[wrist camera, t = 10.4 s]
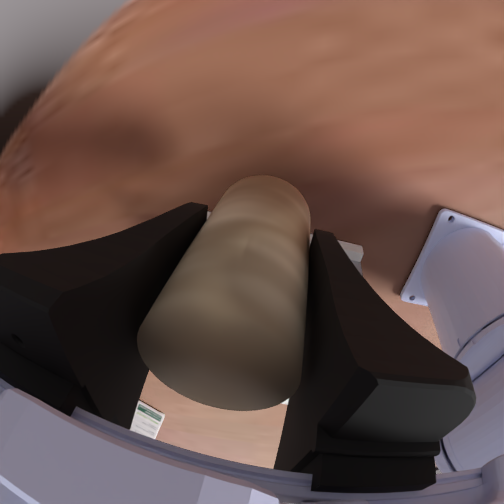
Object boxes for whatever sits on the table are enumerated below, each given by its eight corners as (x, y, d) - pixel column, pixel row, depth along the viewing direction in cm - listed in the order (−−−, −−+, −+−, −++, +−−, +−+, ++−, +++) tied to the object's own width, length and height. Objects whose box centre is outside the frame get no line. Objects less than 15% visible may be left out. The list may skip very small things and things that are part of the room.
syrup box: (166, 414, 41) (135, 496, 29) (152, 421, 44) (123, 494, 32) (133, 395, 40) (96, 477, 28) (122, 404, 43) (89, 477, 31)
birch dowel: (320, 186, 11) (324, 333, 5) (298, 266, 13) (279, 421, 7) (223, 166, 11) (127, 285, 5) (214, 247, 13) (146, 386, 7)
